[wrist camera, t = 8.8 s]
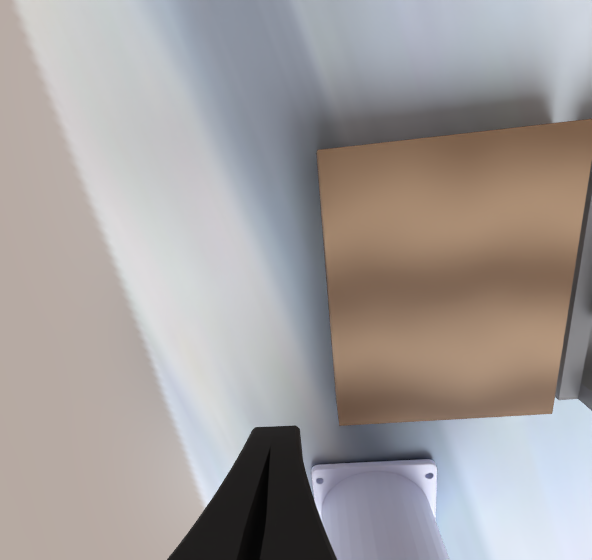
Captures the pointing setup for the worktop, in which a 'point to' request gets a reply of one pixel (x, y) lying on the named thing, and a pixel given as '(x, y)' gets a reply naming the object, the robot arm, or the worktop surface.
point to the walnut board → (452, 270)
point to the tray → (579, 320)
